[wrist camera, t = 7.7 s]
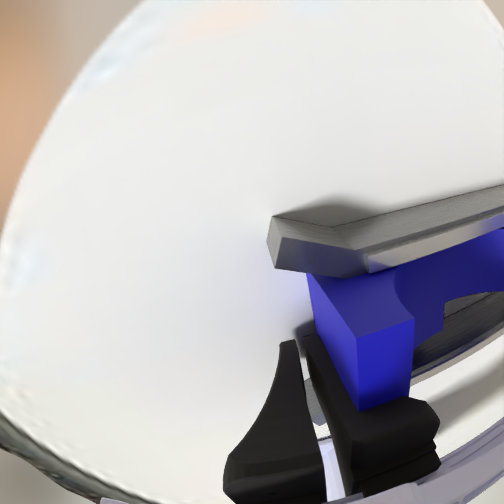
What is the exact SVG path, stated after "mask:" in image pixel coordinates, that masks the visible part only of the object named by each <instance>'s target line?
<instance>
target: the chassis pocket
mask: <svg viewBox="0 0 504 504" xmlns="http://www.w3.org/2000/svg"><path fill="white" fill-rule="evenodd" d="M502 227H504V185H500V186H496V187H492V188H488V189H484V190H480V191H476V192H472V193H468V194H463V195H459V196H455V197H451V198H447V199H443V200H439V201H435V202H431V203H427V204H423V205H419V206H415V207H411V208H407V209H403V210H399V211H395V212H391V213H387V214H383V215H379V216H375V217H371V218H367V219H363V220H359V221H355V222H351V223H347V224H343V225H339V226H335V227H331V228H330V227H325V226H320V225H315V224H310V223H305V222H300V221H294V220H289V219H284V218H278V217H273V216H272V218H271V223H270V228H269V232H268V237H267V245H268V248H269V251H270V255H271V258H272V261H273V264H274V268H276V269H283V270H289V271H296V272H303V273H310V274H316V275H323V276H330V277H337V278H344V279H349V278H352V277H356V276H359V275H363V274H366V273H369V274H370V273H373V272H377V271H380V270H383V269H386V268H389V267H393V266H396V265H399V264H403V263H406V262H409V261H412V260H415V259H418V258H421V257H424V256H427V255H430V254H433V253H436V252H439V251H441V250H444V249H447V248H450V247H453V246H455V245H458V244H461V243H463V242H466V241H469V240H471V239H474V238H477V237H479V236H482V235H485V234H487V233H490V232H492V231H495V230H497V229H500V228H502ZM503 334H504V291H496V292H494V293H493V294H491V295H489V296H487V297H486V298H484V299H482V300H480V301H478V302H476V303H474V304H473V305H471V306H469V307H467V308H465V309H463V310H461V311H459V312H457V313H455V314H453V315H451V316H449V317H446V318H444V322H443V330H442V331H440V332H438V333H436V334H435V335H433V336H431V337H430V338H428V339H427V340H425V341H424V342H422V343H421V344H420V345H419V346H418V347H417V348H415V349H414V350H413V362H412V373H411V382H410V386H412V385H415V384H417V383H419V382H421V381H423V380H425V379H427V378H429V377H432V376H434V375H436V374H438V373H439V372H441V371H443V370H445V369H447V368H449V367H451V366H453V365H455V364H456V363H458V362H460V361H462V360H463V359H465V358H467V357H469V356H470V355H472V354H474V353H475V352H477V351H479V350H480V349H482V348H483V347H485V346H486V345H488V344H490V343H491V342H493V341H494V340H496V339H497V338H499V337H500V336H501V335H503ZM304 384H305V390H306V397H307V405H308V408H309V412H310V416H311V419H312V422H314V423H315V424H317V425H318V426H321V425H323V424H325V423H326V419H325V417H324V414H323V412H322V409H321V407H320V404H319V402H318V399H317V397H316V394H315V392H314V389H313V386H312V382H311V379H310V378H309V379H308V380H306V381H304Z"/></svg>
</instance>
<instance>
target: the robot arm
mask: <svg viewBox="0 0 504 504" xmlns="http://www.w3.org/2000/svg"><path fill="white" fill-rule="evenodd" d="M302 338H303V343H304V349H305V355H306V360H307V366H308V371H309V375H310V379H311V382H312V386H313V389H314V392H315V394H316V397H317V399H318V402H319V404H320V407H321V409H322V412H323V414H324V417H325V419H326V422H327V425H328V428H329V431H330V434H331V438H330V439H326V440H323V441H319V442H318V441H317V437H316V433H315V430H314V426H313V423H312V419H311V416H310V412H309V408H308V405H307V397H306V390H305V384H304V378H303V373H302V368H301V363H300V357H299V352H298V347H297V344H296V341H295V339H293V340H289V341H285V342H281V343H280V345H279V346H280V352H279V360H278V365H277V370H276V374H275V378H274V381H273V384H272V387H271V390H270V392H269V395H268V397H267V400H266V402H265V404H264V406H263V408H262V410H261V412H260V414H259V415H258V417H257V419H256V421H255V422H254V424H253V425H252V427H251V428H250V430H249V431H248V432H247V434H246V435H245V437H244V438H243V439H242V440H241V442H240V443H239V444H238V445H237V446H236V447H235V448H234V450H233V451H232V452H231V453H230V454H229V455H228V458H227V461H226V465H225V469H224V475H223V491H224V493H225V494H226V495H227V496H228V497H229V498H230V499H231V500H232V501H233V502H234V503H236V504H466V503H468V502H469V501H471V500H472V499H474V498H475V497H476V496H478V495H479V494H481V493H482V492H483V491H485V490H486V489H487V488H489V487H490V486H491V485H493V484H494V483H495V482H497V481H498V480H499V479H500V478H501V477H503V476H504V417H503V418H502V419H500V420H499V421H498V422H496V423H495V424H494V425H492V426H491V427H490V428H488V429H487V430H485V431H484V432H483V433H481V434H480V435H478V436H477V437H475V438H474V439H472V440H471V441H469V442H467V443H466V444H464V445H463V446H461V447H459V448H458V449H456V450H454V451H453V452H451V453H449V454H447V455H446V456H444V457H442V458H440V459H439V457H438V455H437V453H436V451H435V449H436V445H435V443H434V441H433V439H434V437H435V434H436V432H437V430H438V428H439V425H440V420H439V418H438V416H437V415H436V413H435V412H434V410H433V409H432V408H431V407H430V406H429V405H428V404H427V402H426V401H422V400H418V399H414V398H410V397H407V396H401V397H399V398H396V399H394V400H391V401H389V402H386V403H383V404H381V405H378V406H375V407H373V408H370V409H367V410H364V411H361V412H359V411H358V410H357V408H356V406H355V405H354V403H353V401H352V399H351V398H350V396H349V394H348V392H347V390H346V388H345V386H344V384H343V382H342V380H341V378H340V377H339V374H338V372H337V370H336V368H335V366H334V364H333V362H332V360H331V358H330V356H329V354H328V351H327V349H326V347H325V345H324V343H323V342H322V340H321V339H320V337H319V336H318V335H317V334H313V335H309V336H305V337H302ZM100 504H128V503H125V502H122V501H117V500H112V499H108V498H101V502H100Z"/></svg>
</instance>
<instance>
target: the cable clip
mask: <svg viewBox="0 0 504 504" xmlns="http://www.w3.org/2000/svg"><path fill="white" fill-rule="evenodd" d="M306 276H307V281H308V286H309V292H310V297H311V303H312V309H313V315H314V321H315V327H316V333H317V335H318V336H319V337H320V339H321V340H322V342H323V343H324V345H325V347H326V349H327V351H328V354H329V356H330V358H331V360H332V362H333V364H334V366H335V368H336V370H337V372H338V374H339V377H340V378H341V380H342V382H343V384H344V386H345V388H346V390H347V392H348V394H349V396H350V398H351V399H352V401H353V403H354V405H355V406H356V408H357V410H358V411H359V412H361V411H364V410H367V409H370V408H373V407H375V406H378V405H381V404H383V403H386V402H389V401H391V400H394V399H396V398H399V397H401V396H407V397H409V390H410V382H411V373H412V362H413V350H414V349H415V348H417V347H418V346H419V345H420V344H421V343H422V342H424V341H425V340H427V339H428V338H430V337H431V336H433V335H435V334H436V333H438V332H440V331H442V330H443V322H444V307H445V302H448V301H450V300H453V299H456V298H459V297H463V296H467V295H471V294H477V293H484V292H496V291H504V227H502V228H500V229H497V230H495V231H492V232H490V233H487V234H485V235H482V236H479V237H477V238H474V239H471V240H469V241H466V242H463V243H461V244H458V245H455V246H453V247H450V248H447V249H444V250H441V251H439V252H436V253H433V254H430V255H427V256H424V257H421V258H418V259H415V260H412V261H409V262H406V263H403V264H399V265H396V266H393V267H389V268H386V269H383V270H380V271H377V272H373V273H370V274H369V273H366V274H363V275H359V276H356V277H352V278H349V279H344V278H337V277H330V276H323V275H316V274H310V273H306Z"/></svg>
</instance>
